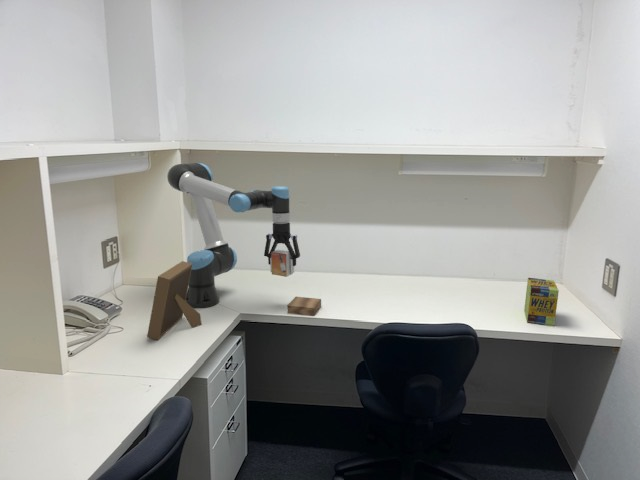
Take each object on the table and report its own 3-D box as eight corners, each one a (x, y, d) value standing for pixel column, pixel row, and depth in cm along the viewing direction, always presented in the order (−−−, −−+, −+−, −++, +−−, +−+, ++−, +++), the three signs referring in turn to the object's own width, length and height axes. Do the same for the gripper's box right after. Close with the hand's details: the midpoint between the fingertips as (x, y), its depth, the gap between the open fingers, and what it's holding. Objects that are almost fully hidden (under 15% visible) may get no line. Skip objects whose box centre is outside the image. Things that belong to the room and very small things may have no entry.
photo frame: (147, 339, 169) (143, 275, 164) (172, 317, 190) (169, 260, 185) (185, 342, 168) (182, 277, 162) (206, 320, 189) (204, 262, 183)
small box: (271, 274, 201) (270, 251, 199) (278, 271, 206) (277, 249, 204) (286, 277, 197) (286, 253, 195) (293, 273, 202) (292, 251, 200)
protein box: (526, 323, 188) (530, 287, 185) (523, 310, 202) (527, 277, 199) (554, 326, 185) (559, 290, 181) (549, 313, 199) (554, 279, 195)
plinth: (287, 314, 197) (287, 305, 196) (295, 304, 208) (295, 296, 207) (314, 316, 194) (314, 308, 193) (321, 307, 205) (321, 298, 204)
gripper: (254, 222, 196) (256, 273, 201) (302, 224, 191) (303, 276, 195) (261, 220, 203) (263, 268, 208) (307, 221, 198) (308, 271, 202)
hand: (282, 272), depth 201 cm, fingers closed on small box, 9 cm apart
